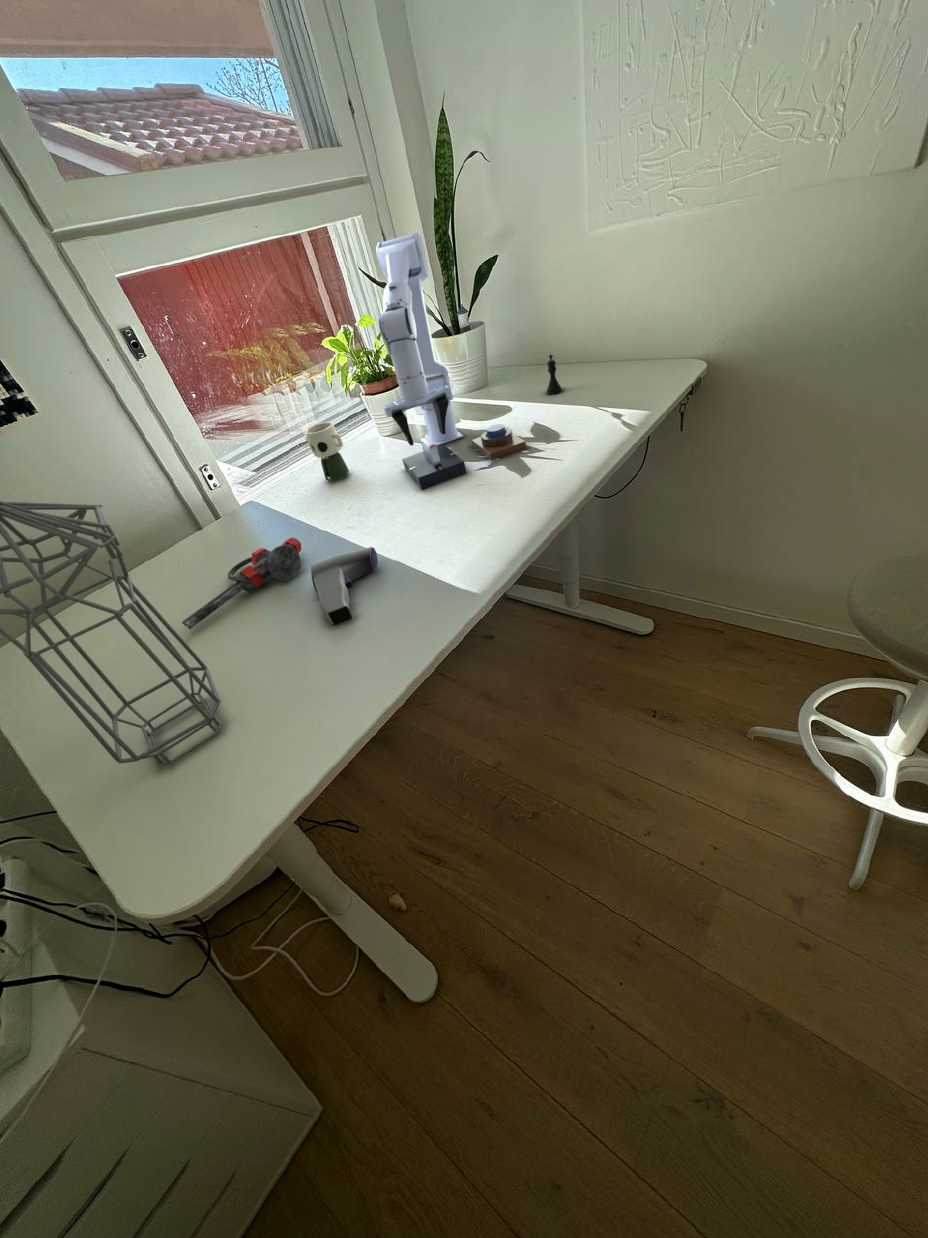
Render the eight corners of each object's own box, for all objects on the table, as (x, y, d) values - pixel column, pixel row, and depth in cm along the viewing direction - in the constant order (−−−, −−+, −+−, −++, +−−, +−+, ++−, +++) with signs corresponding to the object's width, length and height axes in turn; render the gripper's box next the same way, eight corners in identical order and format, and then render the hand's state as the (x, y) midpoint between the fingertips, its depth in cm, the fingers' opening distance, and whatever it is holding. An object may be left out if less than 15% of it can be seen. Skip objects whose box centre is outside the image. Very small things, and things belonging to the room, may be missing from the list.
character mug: (313, 483, 133) (292, 434, 125) (330, 470, 138) (311, 422, 130) (346, 484, 128) (326, 432, 120) (362, 471, 133) (344, 420, 125)
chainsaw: (284, 551, 111) (321, 557, 101) (178, 628, 98) (208, 644, 88) (268, 526, 108) (304, 529, 97) (155, 602, 95) (183, 615, 85)
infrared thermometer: (329, 632, 84) (315, 582, 94) (399, 604, 85) (378, 558, 96) (318, 611, 80) (305, 562, 91) (391, 583, 82) (370, 538, 93)
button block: (472, 446, 129) (470, 432, 127) (505, 434, 131) (503, 420, 128) (491, 460, 120) (488, 446, 118) (526, 448, 121) (524, 433, 119)
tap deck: (404, 471, 127) (400, 458, 125) (448, 455, 128) (445, 442, 126) (420, 490, 116) (416, 477, 114) (468, 473, 118) (465, 460, 116)
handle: (425, 457, 122) (419, 437, 119) (431, 455, 122) (426, 435, 119) (434, 467, 116) (429, 446, 113) (441, 464, 117) (436, 444, 114)
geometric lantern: (136, 805, 63) (-128, 572, 42) (122, 731, 74) (-92, 517, 53) (256, 731, 69) (78, 490, 47) (226, 672, 80) (71, 456, 58)
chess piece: (553, 388, 150) (550, 351, 144) (565, 389, 147) (562, 351, 141) (543, 393, 149) (539, 356, 142) (554, 395, 146) (550, 357, 139)
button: (484, 435, 125) (483, 428, 124) (501, 429, 125) (500, 422, 124) (491, 440, 121) (490, 432, 120) (508, 434, 122) (507, 426, 121)
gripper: (381, 389, 104) (401, 454, 112) (448, 367, 106) (462, 432, 114) (374, 382, 109) (393, 445, 117) (438, 362, 111) (452, 424, 119)
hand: (427, 438), depth 116 cm, fingers open, 7 cm apart
